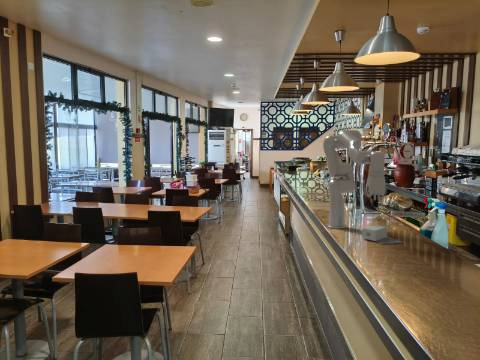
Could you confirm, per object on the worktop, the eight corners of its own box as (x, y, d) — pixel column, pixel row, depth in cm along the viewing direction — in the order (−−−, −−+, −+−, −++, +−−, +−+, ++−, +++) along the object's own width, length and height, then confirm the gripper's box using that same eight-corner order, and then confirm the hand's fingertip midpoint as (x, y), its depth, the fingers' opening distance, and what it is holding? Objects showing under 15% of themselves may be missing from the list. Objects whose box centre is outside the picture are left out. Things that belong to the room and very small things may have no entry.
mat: (365, 237, 216) (365, 236, 216) (384, 236, 219) (384, 235, 219) (382, 244, 201) (382, 243, 201) (402, 243, 204) (402, 242, 204)
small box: (374, 241, 206) (387, 237, 214) (375, 230, 205) (387, 226, 213) (362, 238, 212) (374, 235, 220) (362, 227, 211) (375, 224, 219)
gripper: (384, 173, 211) (382, 205, 213) (360, 173, 207) (359, 206, 209) (392, 174, 203) (390, 207, 206) (368, 175, 200) (367, 208, 202)
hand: (375, 206), depth 207 cm, fingers closed
